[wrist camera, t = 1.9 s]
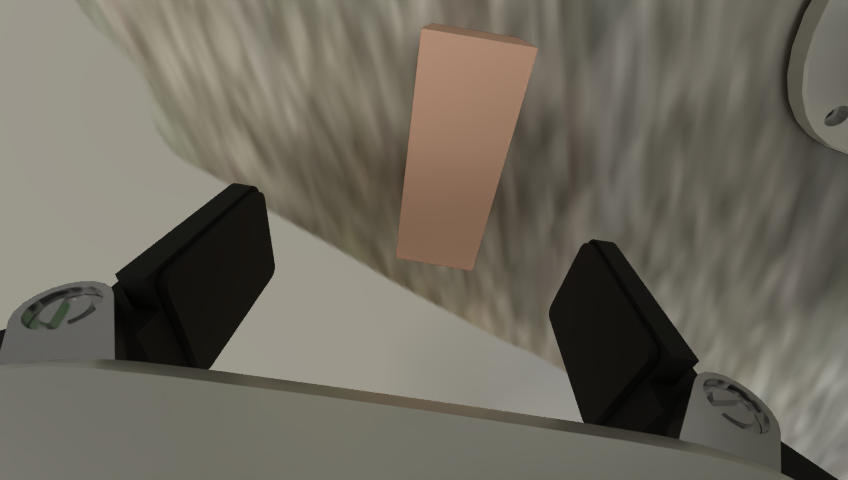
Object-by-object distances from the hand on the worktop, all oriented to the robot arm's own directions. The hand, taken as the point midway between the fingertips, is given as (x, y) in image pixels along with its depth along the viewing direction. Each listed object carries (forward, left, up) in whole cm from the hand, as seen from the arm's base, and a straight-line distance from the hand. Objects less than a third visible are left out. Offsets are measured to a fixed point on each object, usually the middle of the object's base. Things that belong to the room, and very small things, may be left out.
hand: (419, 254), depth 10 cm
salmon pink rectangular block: (-1, 0, -10) cm, 10 cm away
